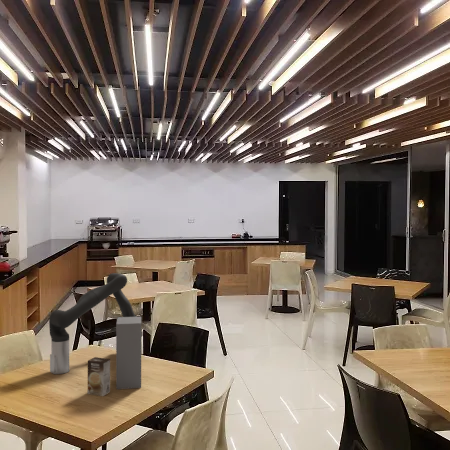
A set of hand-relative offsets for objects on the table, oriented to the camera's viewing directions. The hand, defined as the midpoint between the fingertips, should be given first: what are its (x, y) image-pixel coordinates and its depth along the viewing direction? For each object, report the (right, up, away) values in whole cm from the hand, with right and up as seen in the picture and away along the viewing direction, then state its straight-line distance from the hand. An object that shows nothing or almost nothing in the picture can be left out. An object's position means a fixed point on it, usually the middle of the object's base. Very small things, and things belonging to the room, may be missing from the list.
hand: (130, 338), depth 268 cm
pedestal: (+4, -17, -25) cm, 30 cm away
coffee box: (-8, -17, -39) cm, 43 cm away
